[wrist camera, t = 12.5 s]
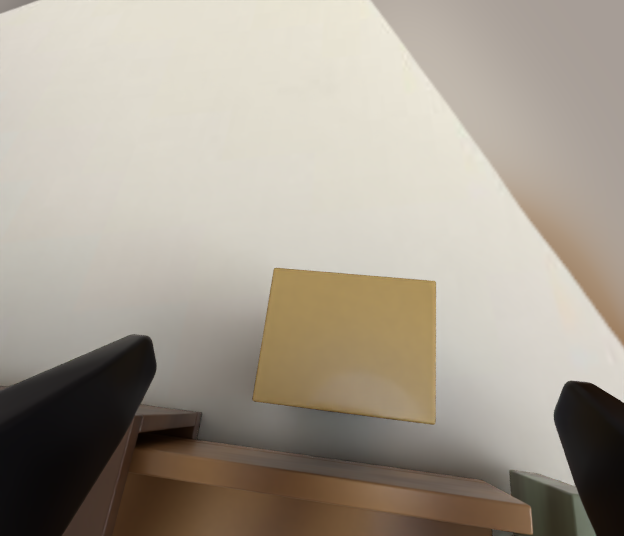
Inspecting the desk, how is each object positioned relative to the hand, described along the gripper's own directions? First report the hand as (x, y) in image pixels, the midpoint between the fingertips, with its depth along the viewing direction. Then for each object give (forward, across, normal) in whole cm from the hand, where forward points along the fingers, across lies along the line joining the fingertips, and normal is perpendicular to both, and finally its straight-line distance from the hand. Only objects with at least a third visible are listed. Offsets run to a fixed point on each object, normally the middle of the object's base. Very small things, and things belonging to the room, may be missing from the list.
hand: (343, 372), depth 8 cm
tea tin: (+8, 0, +7) cm, 11 cm away
